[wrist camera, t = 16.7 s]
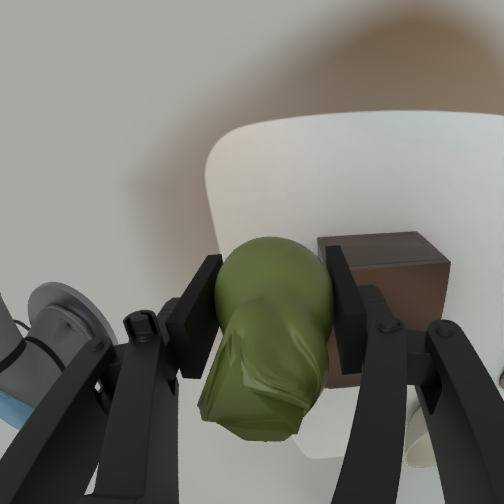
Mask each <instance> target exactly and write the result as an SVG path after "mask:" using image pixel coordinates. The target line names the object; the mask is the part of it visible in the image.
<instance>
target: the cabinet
mask: <svg viewBox="0 0 504 504" xmlns="http://www.w3.org/2000/svg"><path fill="white" fill-rule="evenodd" d="M317 243H318V258H319V259H320V260H321V261H322V263H323V264H324V266H325V267H326V250H325V246H334V245H340V247H341V249H342V252H343V254H344V256H345V259H346V261H347V263H348V266H349V268H350V271H351V273H352V276H353V278H354V280H355V283H356V285H357V286H360V285H371V284H373V285H374V286H376V287H377V288H379V289H380V290H381V292H382V294H383V297H384V298H385V300H386V302H387V304H388V306H389V308H390V310H391V312H392V314H393V316H394V317H396V318H398V319H401V320H402V321H403V322H404V323H405V326H406V328H407V329H410V330H419V331H427V328H428V325H429V324H430V323H431V322H433V321H436V320H441V317H442V312H443V307H444V302H445V297H446V291H447V285H448V279H449V272H450V265H451V262H450V261H449V260H448V259H447V258H446V257H445V256H444V255H443V254H442V253H441V252H439V251H438V250H437V249H436V248H435V247H434V246H433V245H432V244H430V243H429V242H428V241H427V240H426V239H425V238H424V237H423V236H421V235H420V234H419V233H418V232H399V233H382V234H366V235H350V236H334V237H319V238H317ZM327 349H328V355H329V373H328V378H327V382H326V384H325V387H324V388H333V387H345V386H355V385H360V384H361V379H362V373H363V367H364V366H363V365H362V373H357V374H347V375H342V372H341V366H340V360H339V354H338V348H337V343H336V337H335V332H334V326H332V331H331V335H330V338H329V341H328V344H327Z"/></svg>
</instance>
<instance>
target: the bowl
mask: <svg viewBox="0 0 504 504" xmlns="http://www.w3.org/2000/svg"><path fill="white" fill-rule="evenodd" d="M405 461H406V463H407V464H408V465H409V466H412V467H417V468H424V467H431V466H435V465H437V463H436V459H435V455H434V451H433V447H432V443H431V439H430V436H429V432H428V429H427V425H426V422H425V418H424V415H423V412H422V408H421V405H420V407H419V409H418V410H417V411H416V412H415V414H414V415H413V416H412V418H411V420H410V422H409V424H408V427H407V431H406V437H405Z"/></svg>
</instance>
